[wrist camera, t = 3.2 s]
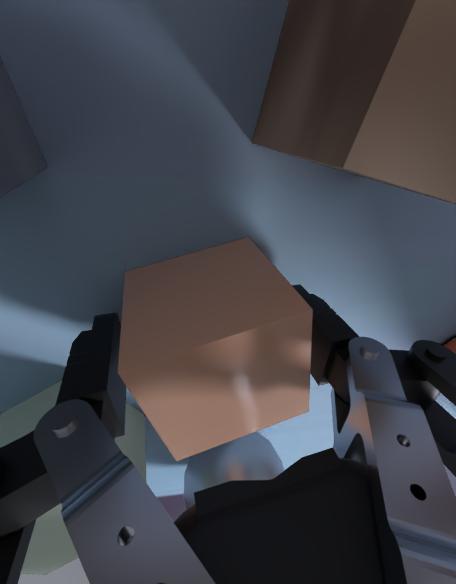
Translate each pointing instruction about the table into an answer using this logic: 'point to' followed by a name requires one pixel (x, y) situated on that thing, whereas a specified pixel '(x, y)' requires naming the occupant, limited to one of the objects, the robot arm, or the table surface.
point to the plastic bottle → (231, 464)
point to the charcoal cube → (15, 140)
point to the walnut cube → (367, 91)
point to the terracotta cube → (214, 346)
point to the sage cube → (50, 526)
